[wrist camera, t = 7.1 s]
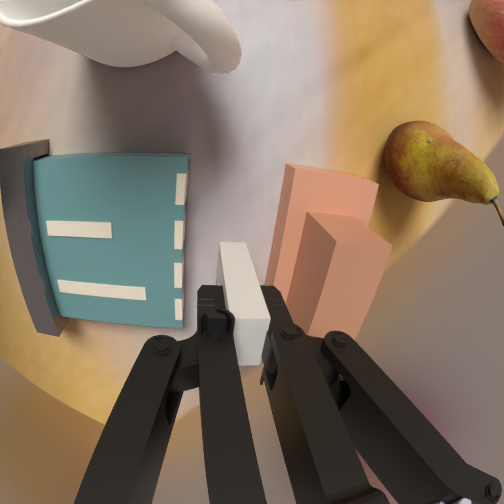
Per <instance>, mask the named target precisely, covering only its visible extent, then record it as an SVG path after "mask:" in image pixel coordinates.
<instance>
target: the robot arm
mask: <svg viewBox="0 0 504 504" xmlns="http://www.w3.org/2000/svg"><path fill="white" fill-rule="evenodd" d="M216 284H217V285H202V286H201V287H200V288H199V290H198V293H197V331H196V333H195V334H194V335H193V336H192V337H190V338H188V339H185V340H182V341H176V340H175V339H174V338H173V337H170V336H167V335H157V336H153V337H151V338H150V339H148V340H147V341H146V342H145V344H144V346H143V348H142V350H141V352H140V354H139V356H138V358H137V359H136V361H135V363H134V365H133V368H132V370H131V372H130V374H129V376H128V378H127V380H126V382H125V384H124V386H123V388H122V390H121V392H120V394H119V396H118V399H117V401H116V403H115V405H114V407H113V409H112V412H111V414H110V416H109V418H108V420H107V423H106V425H105V427H104V429H103V432H102V434H101V436H100V439H99V441H98V443H97V446H96V448H95V450H94V453H93V455H92V458H91V460H90V463H89V465H88V468H87V470H86V473H85V475H84V478H83V480H82V483H81V486H80V488H79V491H78V494H77V496H76V499H75V502H74V504H152V500H153V496H154V493H155V489H156V485H157V481H158V478H159V474H160V471H161V467H162V463H163V460H164V456H165V453H166V449H167V446H168V442H169V439H170V435H171V432H172V428H173V425H174V422H175V418H176V415H177V412H178V408H179V405H180V402H181V398H182V395H183V391H186V390H190V389H193V388H197V387H199V396H200V410H201V411H200V412H201V426H202V438H203V450H204V458H205V459H204V460H205V469H206V478H207V487H208V494H209V501H210V504H267V502H266V498H265V494H264V489H263V485H262V481H261V477H260V472H259V467H258V462H257V458H256V453H255V449H254V444H253V439H252V434H251V429H250V424H249V420H248V414H247V409H246V404H245V398H244V393H243V387H242V382H241V376H240V371H239V366H249V365H260V364H261V359H263V363H264V367H263V372H262V375H261V379H260V385H262V384H263V381H264V382H265V386H266V390H267V394H268V398H269V402H270V406H271V410H272V414H273V418H274V422H275V426H276V429H277V433H278V437H279V441H280V445H281V449H282V452H283V456H284V460H285V464H286V467H287V471H288V475H289V479H290V482H291V486H292V489H293V493H294V497H295V500H296V504H390V503H389V501H388V499H387V497H386V495H385V494H384V493H383V492H382V491H381V490H379V489H376V488H373V487H372V486H371V485H370V483H369V482H368V479H367V477H366V474H365V472H364V469H363V467H362V465H361V462H360V460H359V457H358V455H357V453H356V450H357V451H358V452H359V454H360V455H361V456H362V458H363V459H364V460H365V461H366V463H367V464H368V466H369V467H370V468H371V470H372V471H373V472H374V473H375V475H376V476H377V477H378V479H379V480H380V481H381V482H382V484H383V485H384V486H385V488H386V489H387V490H388V491H389V492H390V494H391V495H392V496H393V498H394V499H395V500H396V501H397V502H398V503H399V504H496V503H497V502H498V501H499V499H500V496H501V492H502V488H501V483H500V482H499V480H498V479H497V478H495V477H493V476H491V475H488V474H487V473H484V472H482V471H480V470H478V469H476V468H474V467H472V466H470V465H468V464H467V463H466V462H465V461H464V460H463V459H462V458H461V457H460V455H459V454H458V453H457V452H456V451H455V450H454V449H453V448H452V447H451V445H450V444H449V443H448V442H447V441H446V440H445V439H444V437H443V436H442V435H441V434H440V433H439V432H438V431H437V430H436V429H435V427H434V426H433V425H432V424H431V423H430V422H429V421H428V420H427V419H426V418H425V417H424V415H423V414H422V413H421V412H420V411H419V410H418V409H417V408H416V407H415V405H414V404H413V403H412V402H411V401H410V400H409V399H408V398H407V397H406V395H405V394H403V392H402V391H401V390H400V389H399V388H398V387H397V386H396V385H395V384H394V382H393V381H392V380H391V379H390V378H389V377H388V376H387V375H386V374H385V373H384V372H383V371H382V369H381V368H380V367H379V366H378V365H377V364H376V363H375V362H374V361H373V360H372V359H371V358H370V357H369V356H368V354H367V353H366V352H365V351H364V350H363V349H362V348H361V347H360V346H359V345H358V344H357V343H356V342H355V341H354V339H353V338H352V337H351V336H349V335H348V334H346V333H344V332H342V331H330V332H328V333H326V335H325V337H324V338H319V337H313V336H309V335H306V334H305V332H304V331H303V329H302V328H301V327H299V326H298V325H296V324H294V323H293V320H292V318H291V316H290V313H289V311H288V308H287V306H286V305H285V301H284V300H283V297H282V294H281V292H280V291H279V290H278V289H277V288H276V287H275V286H261V285H259V282H258V279H257V276H256V273H255V270H254V267H253V264H252V261H251V258H250V255H249V252H248V249H247V246H246V243H243V242H220V241H219V252H218V265H217V279H216ZM340 375H341V376H342V377H341V376H340ZM354 447H355V448H356V450H355V448H354Z"/></svg>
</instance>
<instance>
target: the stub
mask: <svg viewBox="0 0 504 504" xmlns="http://www.w3.org/2000/svg"><path fill="white" fill-rule="evenodd" d="M378 187H379V184H377V183H375V182H373V181H371V180H368V179H366V178H364V177H359V176H354V175H350V174H345V173H340V172H334V171H329V170H323V169H318V168H312V167H306V166H300V165H293V164H286V168H285V174H284V180H283V186H282V192H281V198H280V204H279V210H278V215H277V221H276V227H275V232H274V238H273V244H272V249H271V255H270V260H269V266H268V271H267V276H266V282H265V286H275V287H276V288H277V289H278V290H279V291H280V292H281V294H282V297H283V300H284V301H285V305H286V306H287V308H288V311H289V313H290V316H291V318H292V320H293V323H294V324H296V325H298V326H299V327H301V328H302V329H303V331H304V332H305V334H306V335H309V336H313V337H319V338H324V337H325V335H326V333H328V332H330V331H342V332H344V333H346V334H348V335H349V336H351V337H352V338H353V339H354V340H355V338H356V336H357V334H358V332H359V330H360V328H361V326H362V323H363V321H364V319H365V316H366V314H367V312H368V310H369V307H370V305H371V303H372V300H373V298H374V295H375V293H376V291H377V288H378V285H379V283H380V280H381V278H382V275H383V272H384V270H385V267H386V264H387V261H388V259H389V256H390V253H391V250H392V247H393V246H392V245H391V244H390V243H388V242H387V241H386V240H385V239H383V238H382V237H381V236H380V235H378V234H377V233H376V232H375V231H373V230H372V229H371V228H369V227H368V225H369V222H370V218H371V214H372V211H373V207H374V203H375V199H376V195H377V191H378Z"/></svg>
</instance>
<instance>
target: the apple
mask: <svg viewBox="0 0 504 504" xmlns="http://www.w3.org/2000/svg"><path fill="white" fill-rule="evenodd" d="M469 16H470V20H471V23H472V25H473V27H474V30H475V32H476V33H477V35H478V37H479V38H480V40H481V41H482V43H483V44H484V46H485V47H486V48H487V49H488V51H489V52H490V53H491V54H492V55H493V56H494V57H495V58H496V59H497V60H499V61H500V62H501V63H503V64H504V0H472V1H471V3H470V7H469Z"/></svg>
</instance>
